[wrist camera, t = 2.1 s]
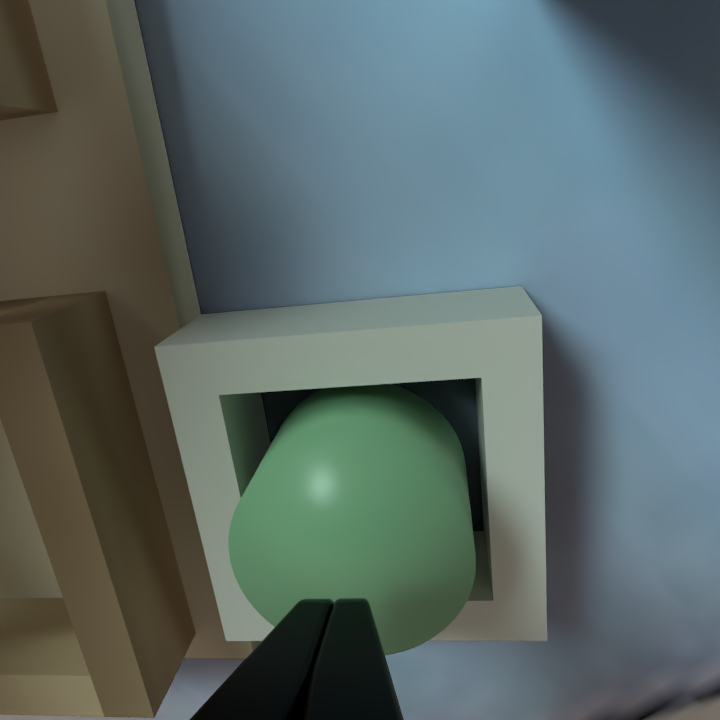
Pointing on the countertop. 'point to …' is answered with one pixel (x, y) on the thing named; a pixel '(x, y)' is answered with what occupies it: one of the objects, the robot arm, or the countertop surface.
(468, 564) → the button
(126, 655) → the board
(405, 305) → the white flat square frame
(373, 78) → the countertop surface
